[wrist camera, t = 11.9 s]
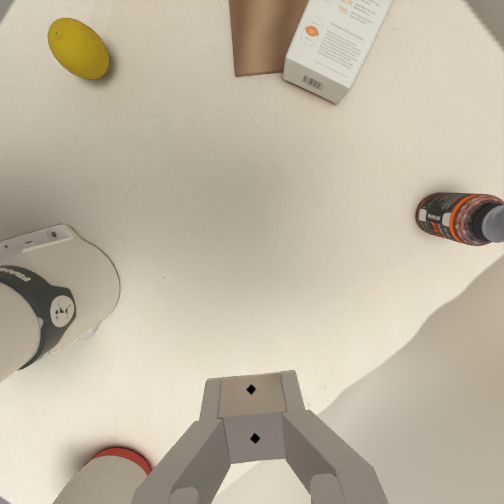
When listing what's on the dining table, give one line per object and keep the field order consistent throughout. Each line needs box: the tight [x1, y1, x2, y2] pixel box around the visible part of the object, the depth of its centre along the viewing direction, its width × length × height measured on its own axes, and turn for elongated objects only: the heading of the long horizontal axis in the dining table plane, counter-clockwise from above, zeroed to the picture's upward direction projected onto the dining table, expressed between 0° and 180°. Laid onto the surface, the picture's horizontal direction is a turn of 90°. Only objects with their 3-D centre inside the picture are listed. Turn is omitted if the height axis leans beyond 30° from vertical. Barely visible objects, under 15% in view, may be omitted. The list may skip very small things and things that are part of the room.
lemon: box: [48, 18, 109, 79], centre depth 33 cm, size 6×6×8 cm
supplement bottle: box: [417, 193, 504, 246], centre depth 34 cm, size 6×6×11 cm
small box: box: [283, 0, 394, 104], centre depth 32 cm, size 8×6×13 cm
